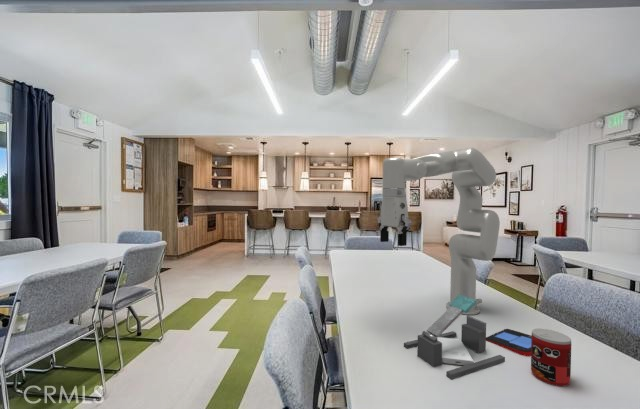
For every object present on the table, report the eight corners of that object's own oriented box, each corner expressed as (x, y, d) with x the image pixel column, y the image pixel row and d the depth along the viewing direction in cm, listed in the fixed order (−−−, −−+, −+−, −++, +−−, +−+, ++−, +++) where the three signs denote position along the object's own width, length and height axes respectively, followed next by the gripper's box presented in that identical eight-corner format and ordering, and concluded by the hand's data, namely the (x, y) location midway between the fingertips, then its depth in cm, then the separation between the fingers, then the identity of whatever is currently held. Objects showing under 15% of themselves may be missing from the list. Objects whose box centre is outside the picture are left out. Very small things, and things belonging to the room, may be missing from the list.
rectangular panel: (460, 297, 89) (459, 294, 88) (476, 303, 84) (475, 299, 83) (421, 334, 82) (420, 331, 82) (436, 343, 77) (435, 340, 77)
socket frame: (452, 334, 96) (453, 309, 96) (504, 361, 80) (505, 331, 80) (403, 346, 87) (404, 318, 87) (451, 379, 71) (451, 345, 71)
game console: (506, 331, 100) (506, 325, 100) (549, 347, 89) (550, 340, 89) (483, 341, 93) (483, 334, 93) (527, 360, 82) (527, 352, 82)
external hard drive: (461, 344, 89) (474, 366, 77) (433, 341, 90) (442, 362, 78) (461, 339, 89) (474, 360, 77) (433, 336, 90) (442, 357, 78)
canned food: (523, 369, 76) (524, 328, 76) (550, 368, 77) (551, 327, 77) (548, 387, 69) (549, 342, 69) (579, 386, 69) (580, 341, 69)
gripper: (419, 193, 92) (419, 246, 92) (387, 194, 108) (386, 239, 108) (401, 193, 89) (400, 248, 89) (370, 194, 105) (369, 240, 105)
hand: (392, 243), depth 98 cm, fingers open, 9 cm apart
